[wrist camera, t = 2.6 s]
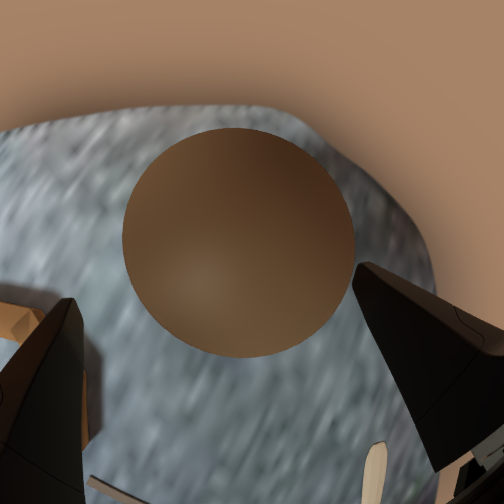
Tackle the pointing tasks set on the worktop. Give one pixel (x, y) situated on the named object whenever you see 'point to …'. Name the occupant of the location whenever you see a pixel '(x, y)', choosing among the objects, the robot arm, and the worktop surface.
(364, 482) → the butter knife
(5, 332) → the faceted ring
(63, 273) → the worktop surface
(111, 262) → the worktop surface
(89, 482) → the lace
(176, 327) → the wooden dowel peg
